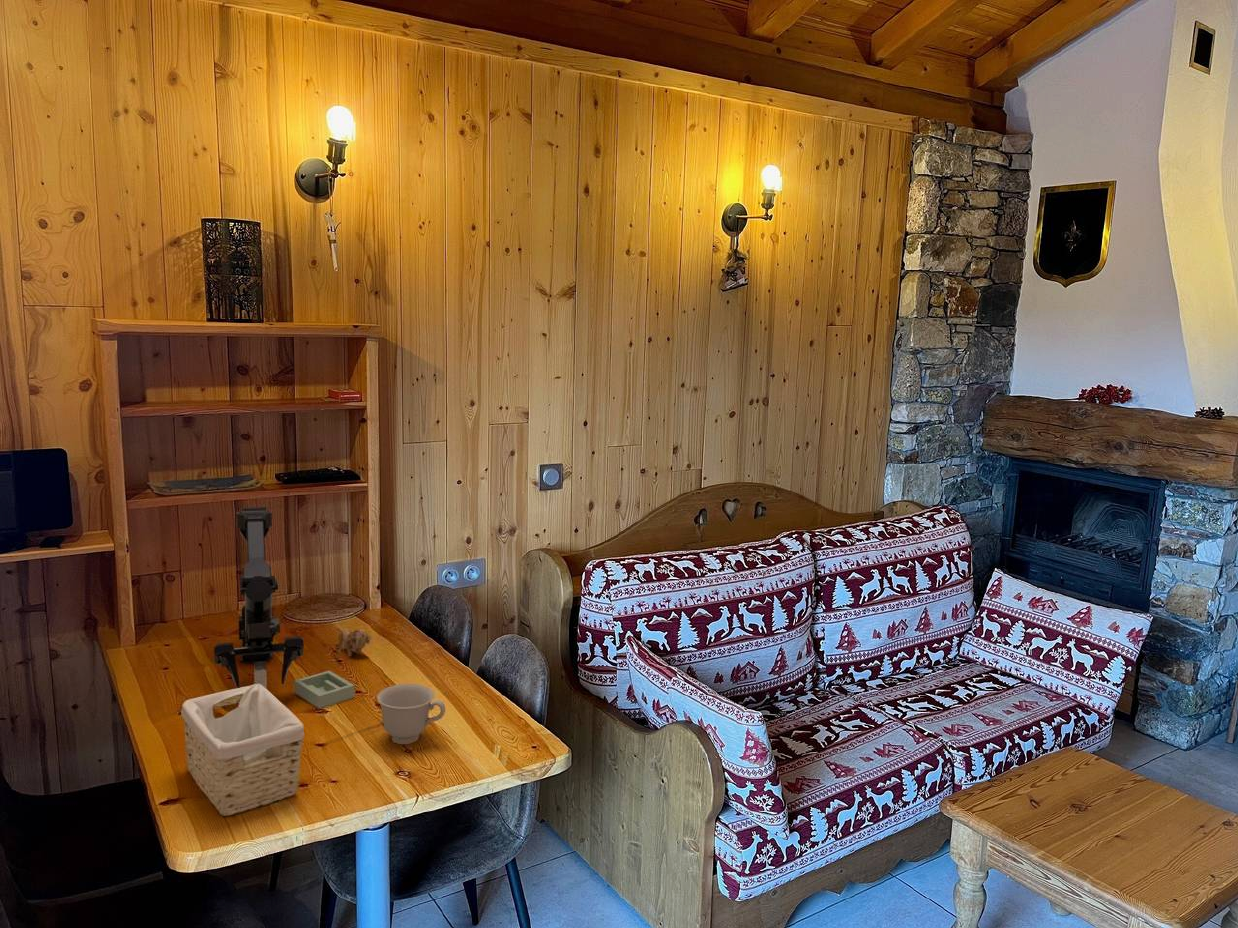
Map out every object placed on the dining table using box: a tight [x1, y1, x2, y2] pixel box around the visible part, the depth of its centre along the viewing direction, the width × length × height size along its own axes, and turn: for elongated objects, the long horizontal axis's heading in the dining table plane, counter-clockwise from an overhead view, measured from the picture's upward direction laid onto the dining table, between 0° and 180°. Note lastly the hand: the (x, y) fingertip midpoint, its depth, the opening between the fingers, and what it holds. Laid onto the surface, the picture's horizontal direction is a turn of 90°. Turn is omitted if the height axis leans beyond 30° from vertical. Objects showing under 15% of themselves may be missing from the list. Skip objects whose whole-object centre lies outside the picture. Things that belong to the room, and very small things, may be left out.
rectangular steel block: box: [253, 661, 268, 690], centre depth 203 cm, size 5×2×11 cm, turn 23°
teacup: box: [376, 683, 446, 745], centre depth 196 cm, size 12×15×10 cm
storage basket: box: [180, 683, 305, 817], centre depth 175 cm, size 24×16×15 cm
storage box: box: [294, 670, 355, 710], centre depth 212 cm, size 11×9×4 cm
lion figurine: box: [334, 627, 372, 658], centre depth 238 cm, size 15×5×9 cm, turn 47°
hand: (260, 685), depth 202 cm, fingers open, 9 cm apart
